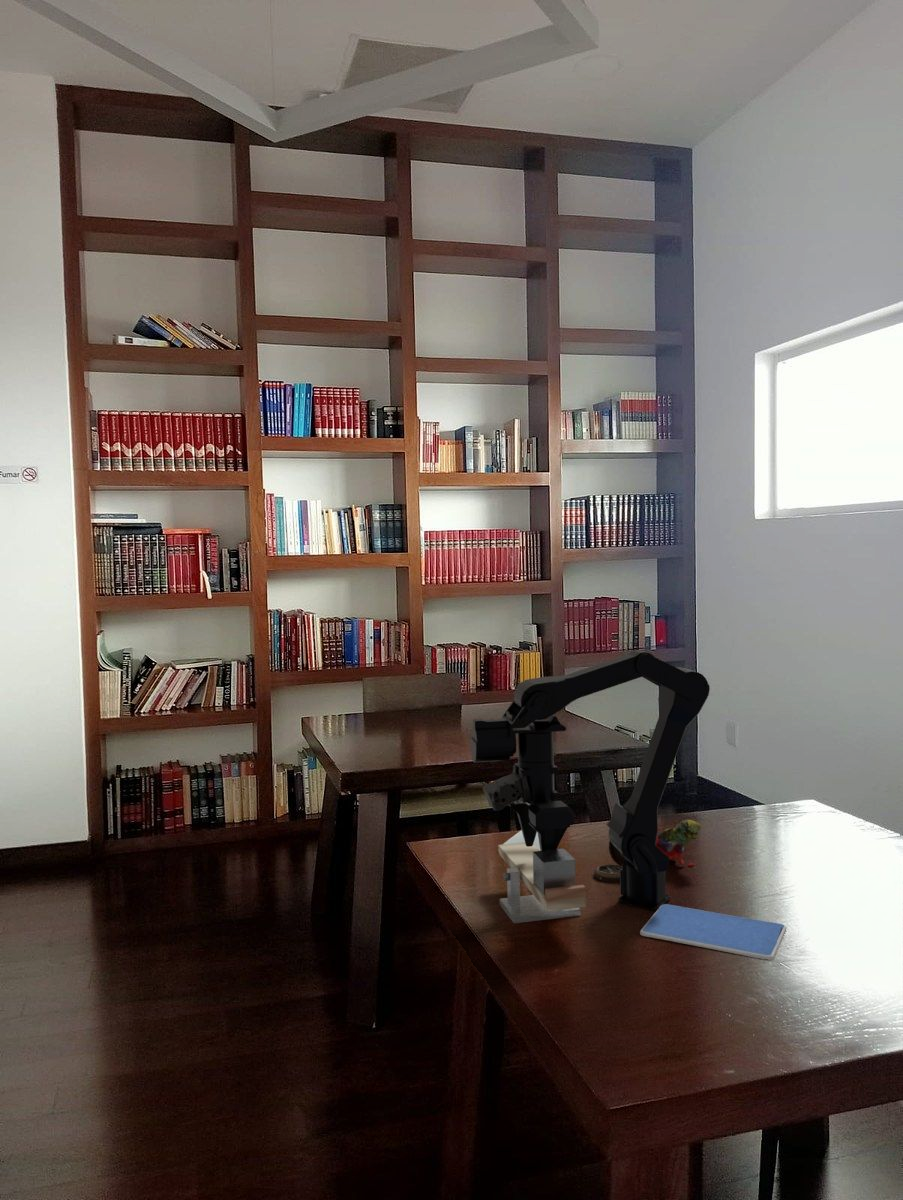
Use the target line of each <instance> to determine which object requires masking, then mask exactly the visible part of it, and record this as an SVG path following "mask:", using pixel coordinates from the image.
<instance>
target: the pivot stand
mask: <svg viewBox="0 0 903 1200" xmlns="http://www.w3.org/2000/svg"><path fill="white" fill-rule="evenodd" d="M502 880H503V882H507V883H506V888H507V889H506V890H507V893H506V894H507V897H503V898H499V906H500V905H501V906H500V907H501V908H502V909H503V911H504V912H505V913H506V915H507V917H509V919H510V920H511V922H512V923H513V924H520V923H529V922H536V921H537V922H538V921H546V920H553V919H563V918H568V917H577V916H579V917H580V916H581V908H572V909H564V910H556V911H547V910H546V909H545V908H544V907H543V906H542V904H541V903H540V902H539V901H538V900H537V899H536V897H535V896H534V895H533V894H529V895H521V883H520V882H521V879H520V872H519V870H518V869H517V868H510V867H507V868H506V872H505V873H502Z"/></svg>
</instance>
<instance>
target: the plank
mask: <svg viewBox="0 0 903 1200" xmlns="http://www.w3.org/2000/svg"><path fill="white" fill-rule="evenodd" d="M502 844H503V845H502ZM502 844H498V845H497V846H498V851H497V852H498V854H499V856H500V857H501V858H502V859H503V861H504V862H505V863H506V864H507V865H508V867H509V868H517V869H518V870H519V872H520V882H521V881H522V882H521V883H523V884H524V886H525V887H526V888H527V889H528V890H529V891H530V893H531V895H534V896H535V897H536V899H537V900H538V901H539V902H540V903H541V904H542V906H543V907H544V908H545V909H546V910H547V911H556V910H564V909H572V908H580V909H581V908H587V902H586V901H587V898H586V896H587V893H586V889H587V888H586V886H585V885H584V884H578V885H576V884H575V886H567V887H558V888H550V889H545V895H543V894H542V893H541V891H540V890H539V889H538V888H537V887H536V886H535V885H534V883H533V852H534V851H540V850H539V849H538V848H537V847H536V846H535V845H534V844H533V846H529V847H527V846H526V844H525V842H522V843H512V844H504V843H502Z"/></svg>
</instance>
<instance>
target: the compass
mask: <svg viewBox="0 0 903 1200" xmlns="http://www.w3.org/2000/svg"><path fill="white" fill-rule="evenodd" d="M608 851H609V854H610V857H611V859H612V860H613V862H614V863H615V864H613V863H612V864H611V863H610V864H601V865H599V866H598V867H597V868H596V869H594V870H593V876H594V877H595V879H597V880H599V881H603V882H607V883H618V882H619V883H620V871H621V870H622V863H623V862H624V861H626V859H625V858H624V857H622V855H621V853H620V851H619V850H618V849H617V848H616V847H615V846H614V845H613V844H612V843H611V841H610V840H609V841H608Z"/></svg>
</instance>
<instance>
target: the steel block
mask: <svg viewBox="0 0 903 1200" xmlns="http://www.w3.org/2000/svg"><path fill="white" fill-rule="evenodd" d="M533 883H534V885H535V886H536V887H537V888H538V889H539V890H540V891H541V893H542V894H543V895H545V889H550V888H558V887H567V886H576V859H575V858H574V857H573V855H571V854H570V853H569V852H568V851H567V850H566V849H565V848H557V849H554V850H544V851H534V852H533Z"/></svg>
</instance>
